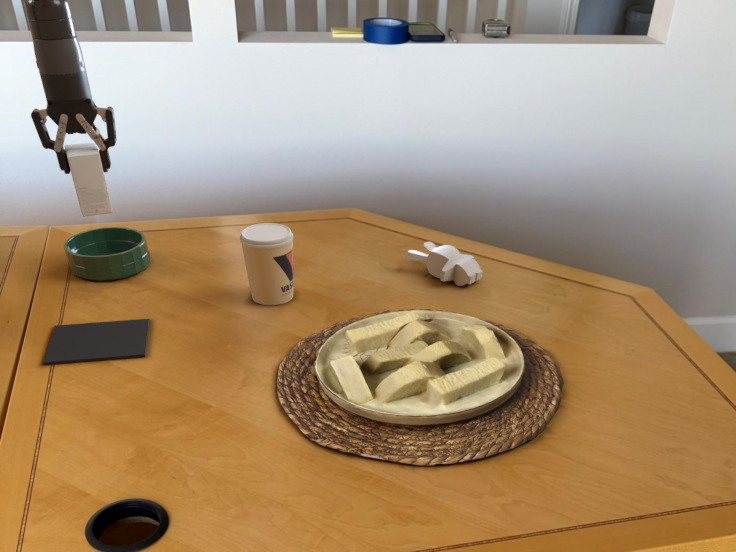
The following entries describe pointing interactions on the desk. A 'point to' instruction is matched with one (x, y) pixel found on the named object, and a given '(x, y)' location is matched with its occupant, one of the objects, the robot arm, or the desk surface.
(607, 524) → the desk surface
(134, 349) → the mat
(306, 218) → the desk surface
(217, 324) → the desk surface
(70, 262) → the bowl
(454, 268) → the bunny figurine
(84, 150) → the small box
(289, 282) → the coffee cup
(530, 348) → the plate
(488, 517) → the desk surface
